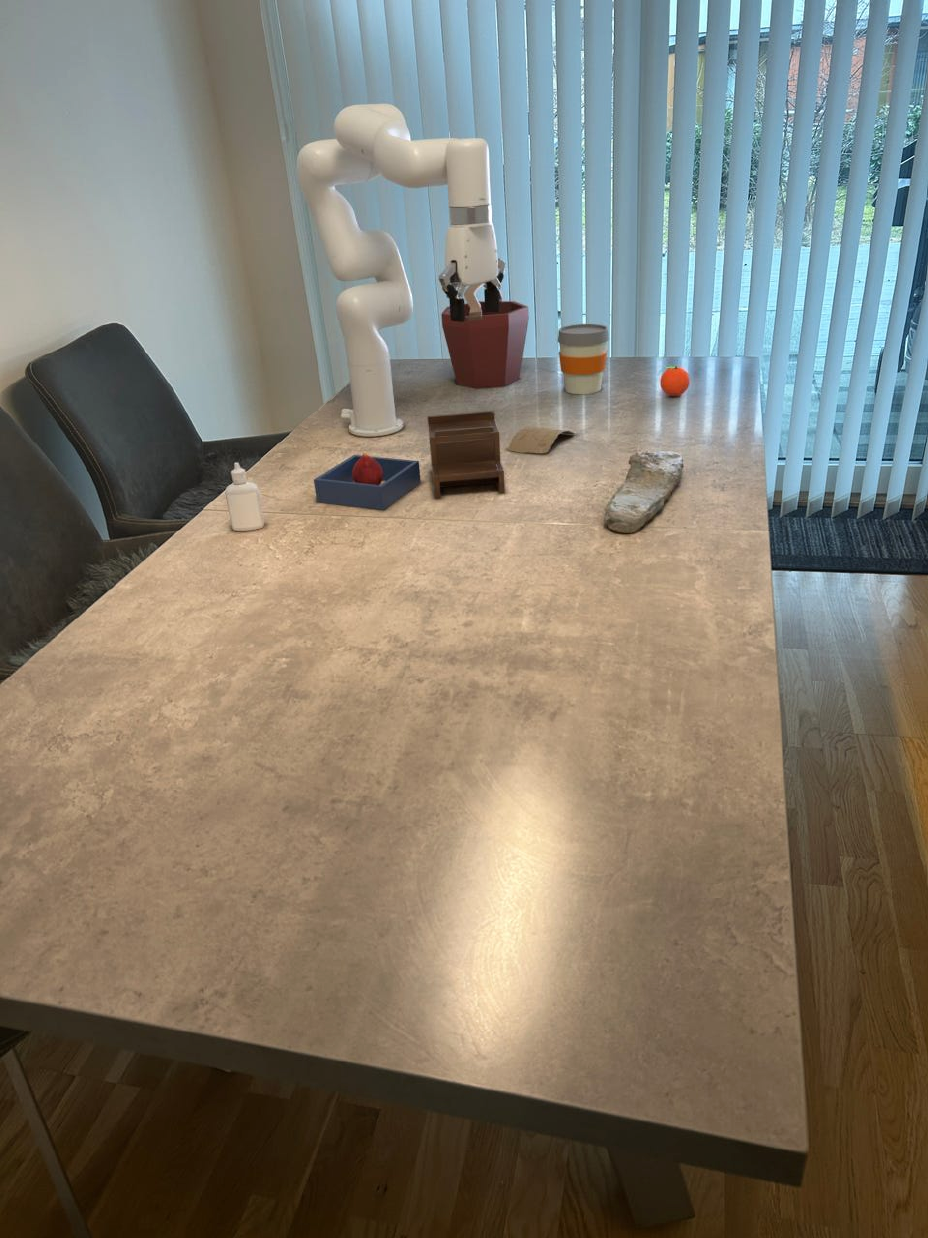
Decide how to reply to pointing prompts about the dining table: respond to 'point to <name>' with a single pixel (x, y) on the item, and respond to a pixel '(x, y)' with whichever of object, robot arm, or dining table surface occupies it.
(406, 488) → the crate
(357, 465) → the onion
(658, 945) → the dining table surface
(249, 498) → the eye dropper bottle
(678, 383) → the clementine
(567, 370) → the reusable coffee cup
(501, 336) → the bucket
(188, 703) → the dining table surface
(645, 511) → the elongated rock
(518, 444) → the clay tablet
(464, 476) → the step shelf
